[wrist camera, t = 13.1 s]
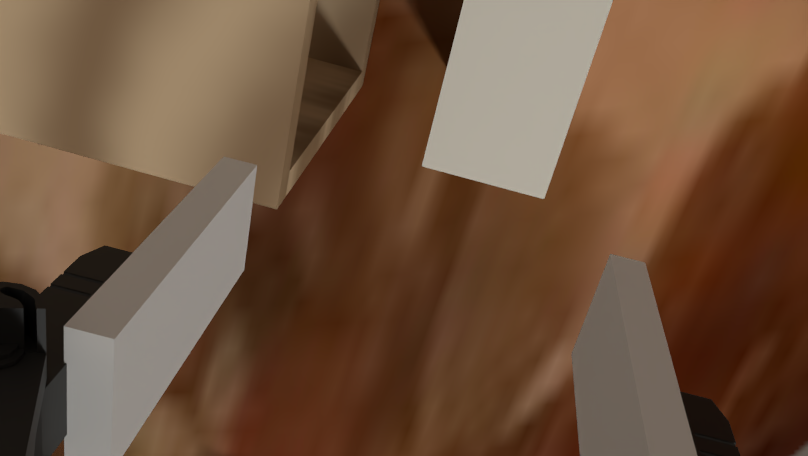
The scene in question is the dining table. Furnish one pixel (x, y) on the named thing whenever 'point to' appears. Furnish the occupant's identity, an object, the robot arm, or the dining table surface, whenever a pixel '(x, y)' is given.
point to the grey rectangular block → (513, 89)
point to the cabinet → (184, 81)
